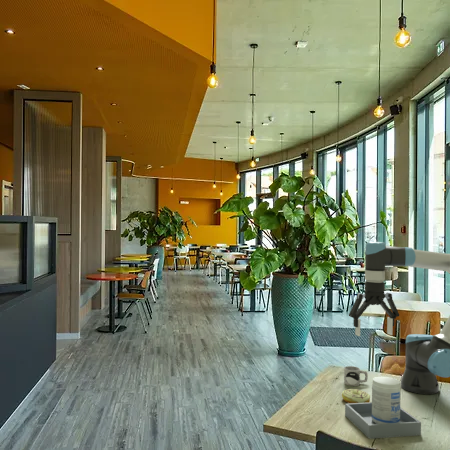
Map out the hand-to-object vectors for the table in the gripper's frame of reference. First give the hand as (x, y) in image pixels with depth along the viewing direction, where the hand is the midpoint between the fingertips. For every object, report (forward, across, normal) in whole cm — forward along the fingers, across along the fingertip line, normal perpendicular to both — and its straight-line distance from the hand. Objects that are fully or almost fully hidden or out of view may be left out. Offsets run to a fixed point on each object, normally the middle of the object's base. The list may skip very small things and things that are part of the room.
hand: (373, 334), depth 185 cm
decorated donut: (+27, +6, -2) cm, 28 cm away
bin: (+27, +7, +20) cm, 34 cm away
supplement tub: (+26, +5, +20) cm, 33 cm away
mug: (+27, -3, -21) cm, 34 cm away
